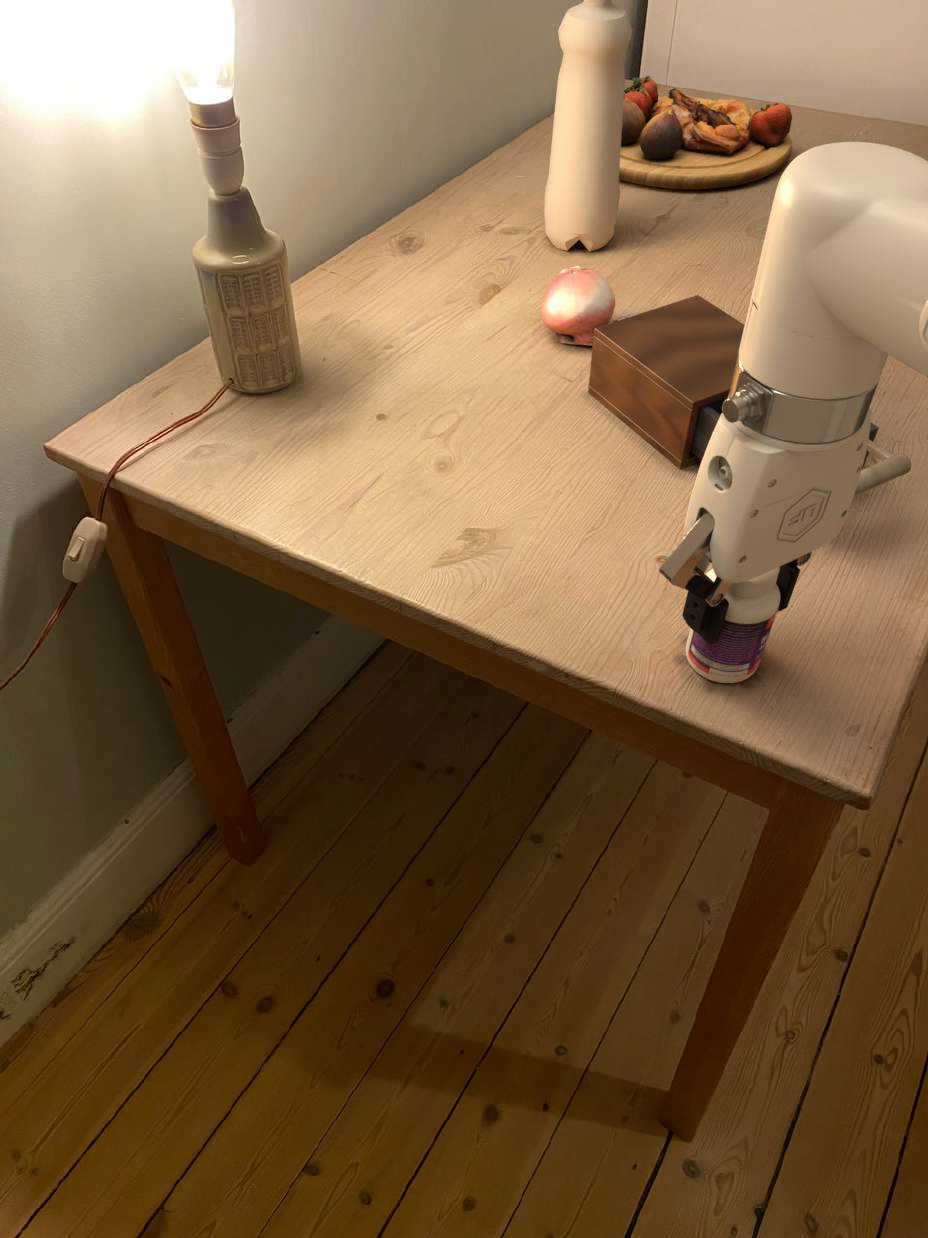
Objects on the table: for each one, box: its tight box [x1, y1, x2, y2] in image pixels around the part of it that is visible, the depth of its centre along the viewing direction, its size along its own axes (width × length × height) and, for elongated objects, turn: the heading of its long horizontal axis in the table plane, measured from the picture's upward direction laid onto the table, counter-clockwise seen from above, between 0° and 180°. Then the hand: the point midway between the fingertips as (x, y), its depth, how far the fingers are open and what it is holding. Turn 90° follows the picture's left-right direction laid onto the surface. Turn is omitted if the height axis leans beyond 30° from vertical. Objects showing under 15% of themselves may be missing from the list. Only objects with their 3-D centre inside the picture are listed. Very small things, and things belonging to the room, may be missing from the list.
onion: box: [540, 265, 618, 347], centre depth 97 cm, size 8×8×7 cm
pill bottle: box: [685, 567, 780, 684], centre depth 64 cm, size 5×5×10 cm
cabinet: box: [587, 294, 745, 470], centre depth 87 cm, size 15×13×7 cm
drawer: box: [690, 397, 912, 498], centre depth 79 cm, size 19×11×6 cm, turn 30°
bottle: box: [543, 0, 633, 252], centre depth 104 cm, size 9×9×30 cm
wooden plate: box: [619, 75, 793, 190], centre depth 132 cm, size 32×32×8 cm
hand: (734, 612), depth 64 cm, fingers closed on pill bottle, 5 cm apart
